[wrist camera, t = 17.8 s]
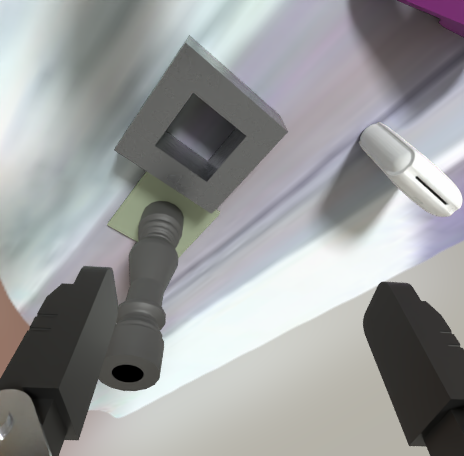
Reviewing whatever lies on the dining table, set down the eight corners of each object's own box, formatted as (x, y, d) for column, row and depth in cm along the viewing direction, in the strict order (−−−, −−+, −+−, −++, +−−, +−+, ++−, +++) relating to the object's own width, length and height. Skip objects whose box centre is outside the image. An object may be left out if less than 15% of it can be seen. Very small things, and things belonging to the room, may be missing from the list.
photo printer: (424, 159, 48) (480, 205, 38) (398, 181, 50) (445, 231, 39) (377, 114, 44) (425, 153, 34) (351, 140, 46) (390, 184, 36)
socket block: (125, 131, 44) (114, 150, 39) (189, 35, 38) (185, 42, 33) (212, 191, 49) (211, 214, 44) (279, 115, 43) (287, 131, 38)
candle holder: (146, 195, 49) (95, 347, 28) (188, 206, 50) (169, 359, 29) (138, 229, 52) (88, 387, 31) (178, 239, 53) (155, 396, 33)
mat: (108, 222, 52) (107, 224, 51) (150, 165, 47) (150, 167, 46) (174, 259, 56) (174, 262, 56) (219, 211, 51) (219, 213, 51)
